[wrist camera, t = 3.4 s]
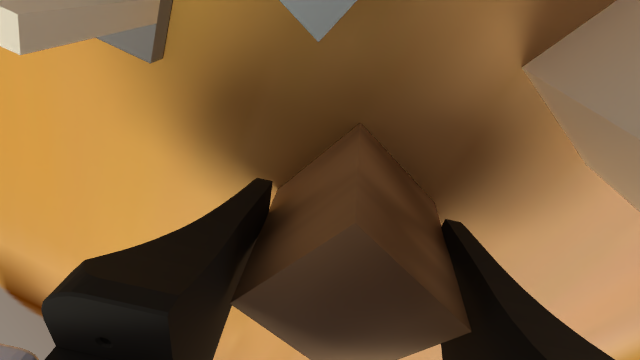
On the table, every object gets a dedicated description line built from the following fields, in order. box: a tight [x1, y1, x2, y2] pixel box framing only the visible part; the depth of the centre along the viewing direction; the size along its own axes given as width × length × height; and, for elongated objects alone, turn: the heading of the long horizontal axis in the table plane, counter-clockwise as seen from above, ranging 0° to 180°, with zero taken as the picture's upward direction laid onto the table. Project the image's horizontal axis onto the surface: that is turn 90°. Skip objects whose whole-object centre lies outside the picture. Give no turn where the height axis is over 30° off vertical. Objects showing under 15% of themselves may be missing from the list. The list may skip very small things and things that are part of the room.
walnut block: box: [230, 123, 472, 360], centre depth 12 cm, size 5×5×6 cm
